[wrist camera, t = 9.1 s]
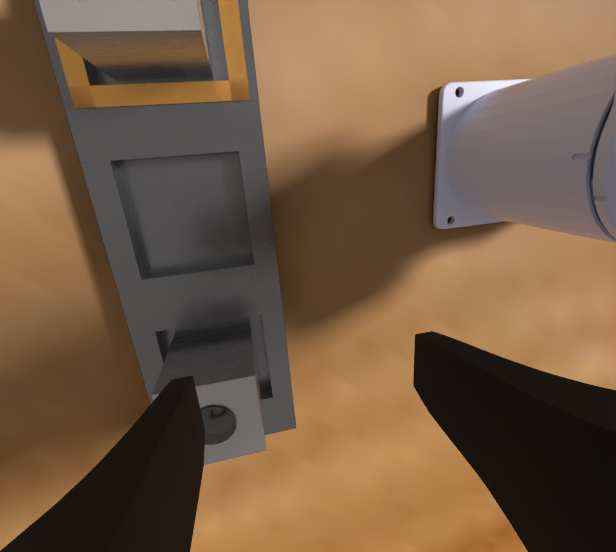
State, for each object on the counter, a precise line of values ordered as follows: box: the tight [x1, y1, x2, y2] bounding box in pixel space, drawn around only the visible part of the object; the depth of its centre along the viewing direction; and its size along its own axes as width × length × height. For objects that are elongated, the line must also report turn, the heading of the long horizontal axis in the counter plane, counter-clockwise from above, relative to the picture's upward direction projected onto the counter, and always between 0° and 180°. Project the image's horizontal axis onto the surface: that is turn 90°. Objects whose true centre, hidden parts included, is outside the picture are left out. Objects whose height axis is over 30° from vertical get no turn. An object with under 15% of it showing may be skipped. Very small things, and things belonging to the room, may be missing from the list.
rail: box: [33, 0, 296, 435], centre depth 17 cm, size 8×28×2 cm, turn 5°
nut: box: [152, 320, 266, 465], centre depth 17 cm, size 4×4×6 cm
